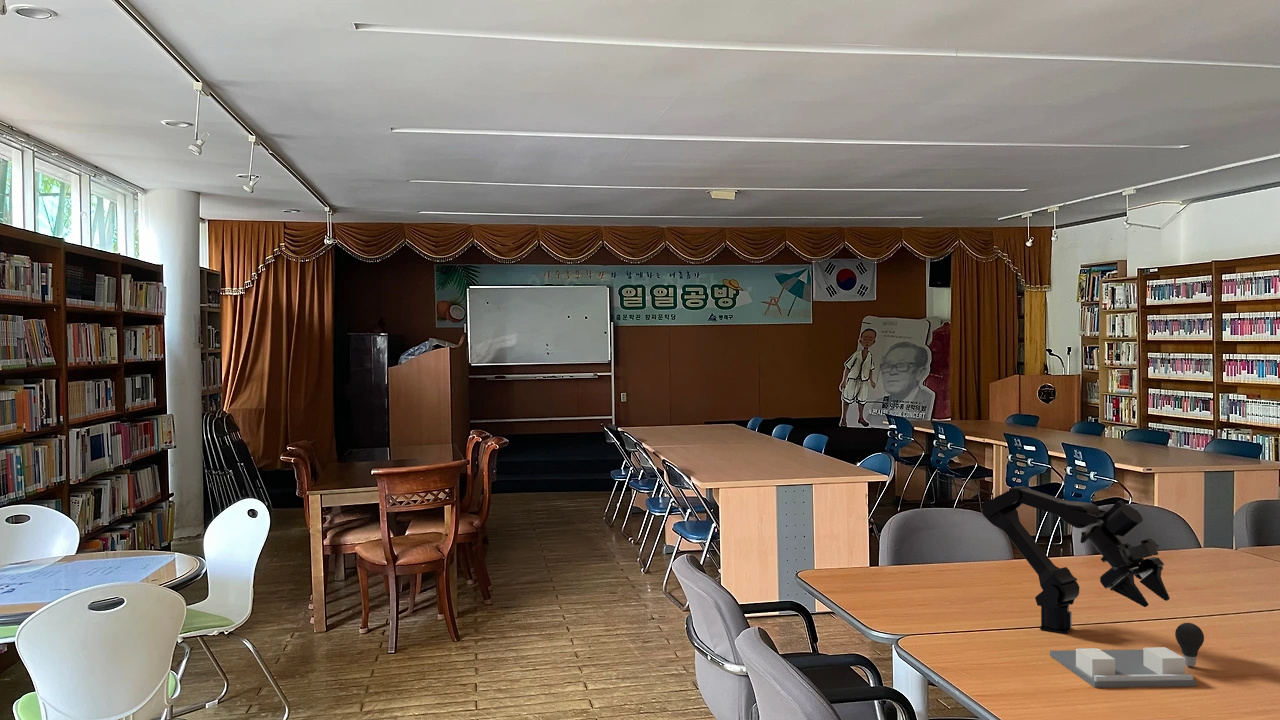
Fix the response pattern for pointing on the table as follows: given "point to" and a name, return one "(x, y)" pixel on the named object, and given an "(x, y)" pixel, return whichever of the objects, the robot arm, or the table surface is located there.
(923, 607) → the table surface
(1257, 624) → the table surface
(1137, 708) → the table surface
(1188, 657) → the black light bulb
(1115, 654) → the board
